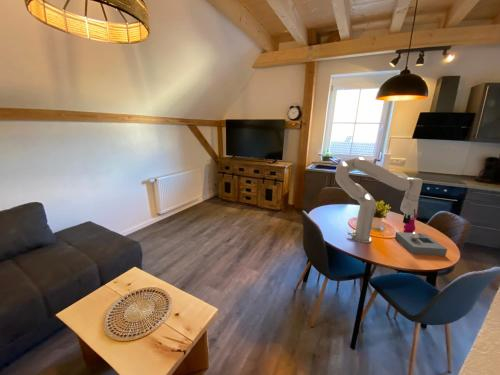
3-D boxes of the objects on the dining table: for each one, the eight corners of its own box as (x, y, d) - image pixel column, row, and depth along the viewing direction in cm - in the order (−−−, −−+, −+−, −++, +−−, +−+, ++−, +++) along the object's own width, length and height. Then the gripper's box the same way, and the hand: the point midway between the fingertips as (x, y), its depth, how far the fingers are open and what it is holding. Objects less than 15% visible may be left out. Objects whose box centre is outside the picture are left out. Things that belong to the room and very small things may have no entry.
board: (411, 253, 138) (413, 246, 137) (394, 238, 157) (396, 232, 156) (445, 256, 136) (447, 249, 135) (423, 240, 156) (425, 233, 154)
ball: (412, 241, 144) (413, 234, 142) (407, 237, 148) (409, 230, 147) (420, 241, 143) (421, 234, 142) (415, 237, 148) (416, 231, 147)
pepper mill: (415, 235, 162) (422, 211, 156) (405, 234, 163) (411, 210, 157) (411, 231, 168) (417, 207, 163) (400, 230, 170) (406, 206, 164)
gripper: (398, 193, 146) (393, 218, 151) (412, 200, 131) (406, 227, 136) (410, 193, 145) (405, 218, 150) (425, 200, 131) (419, 228, 136)
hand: (405, 223), depth 143 cm, fingers closed
